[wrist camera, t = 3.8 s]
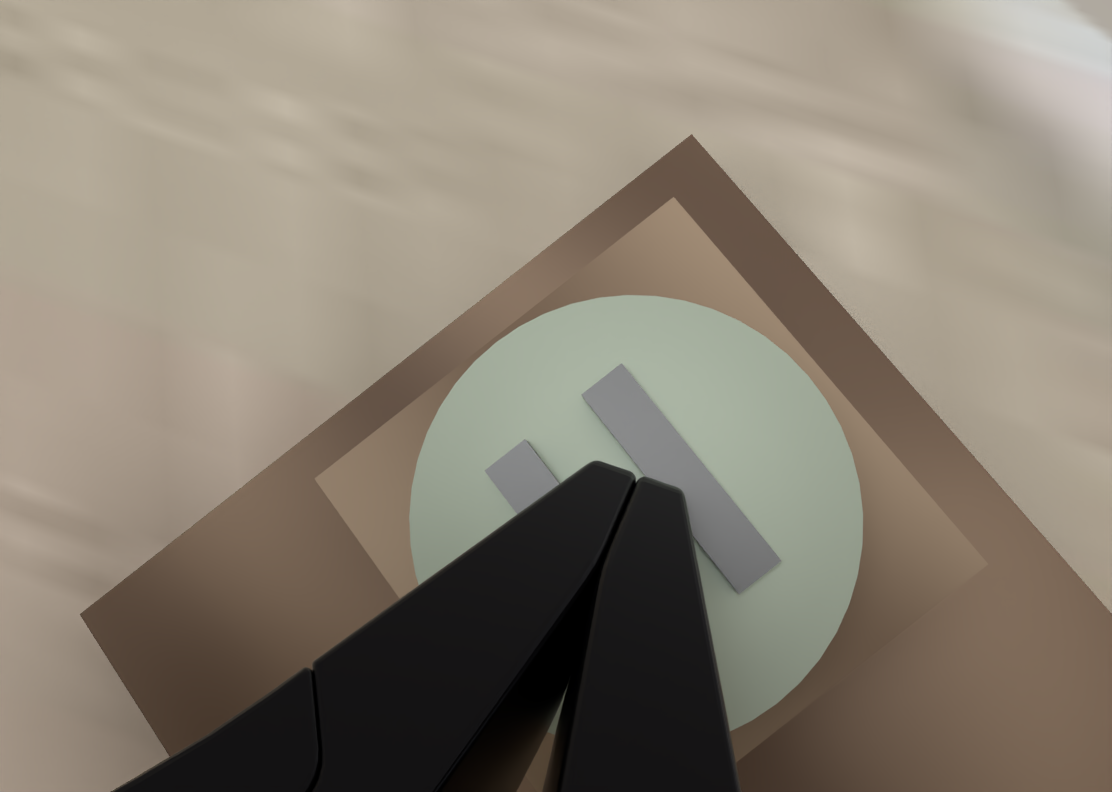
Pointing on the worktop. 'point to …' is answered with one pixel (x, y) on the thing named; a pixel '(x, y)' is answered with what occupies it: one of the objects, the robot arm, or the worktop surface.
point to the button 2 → (664, 467)
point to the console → (865, 631)
